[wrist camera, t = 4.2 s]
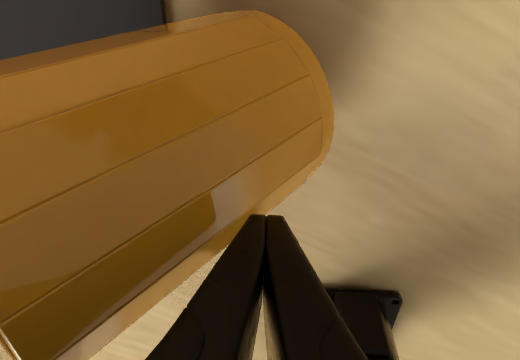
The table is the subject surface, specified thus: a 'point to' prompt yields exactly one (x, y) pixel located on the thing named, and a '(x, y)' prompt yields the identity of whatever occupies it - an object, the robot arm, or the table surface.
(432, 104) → the table surface
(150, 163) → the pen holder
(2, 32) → the mat
